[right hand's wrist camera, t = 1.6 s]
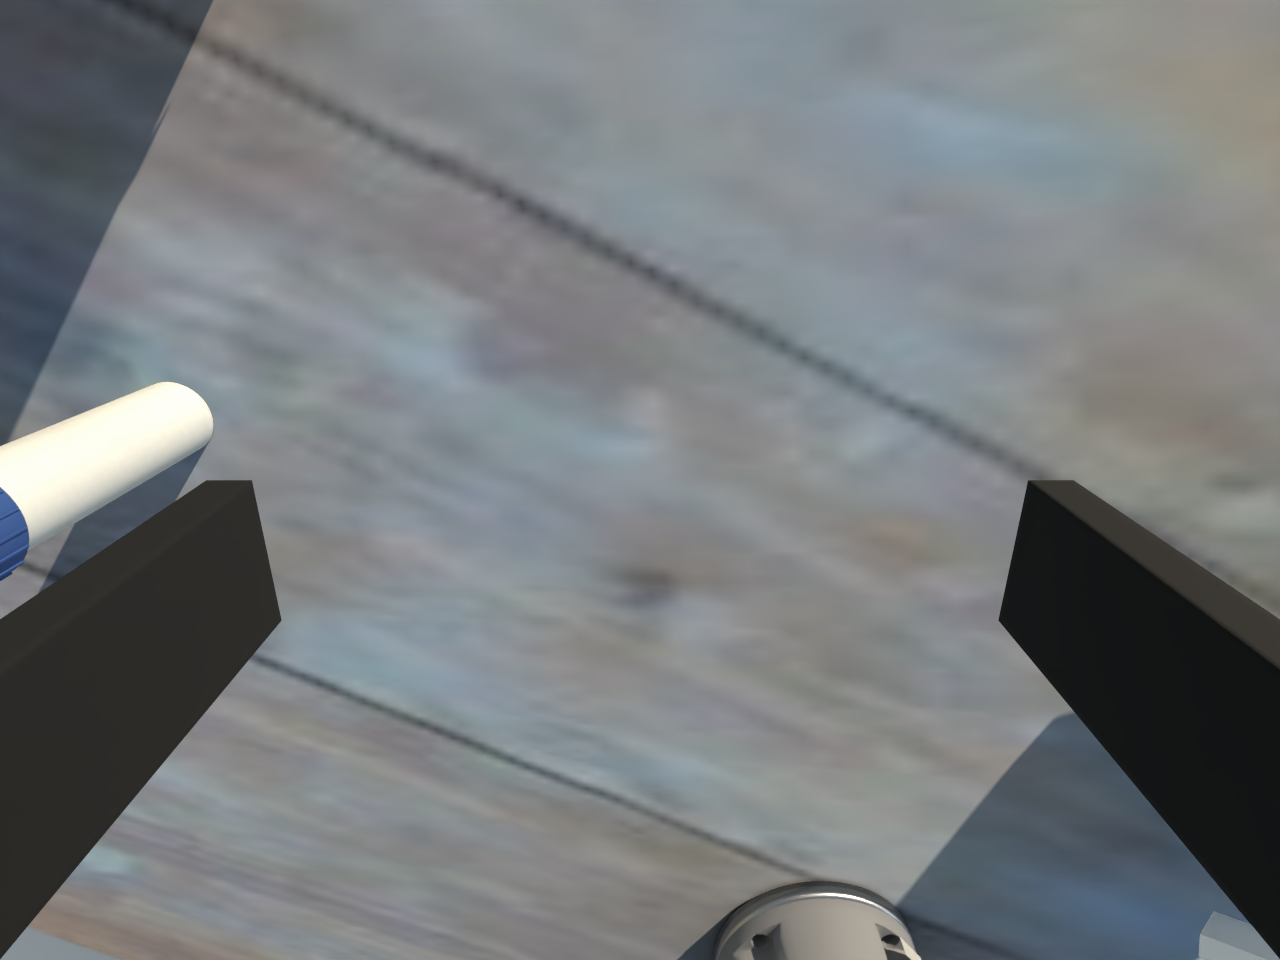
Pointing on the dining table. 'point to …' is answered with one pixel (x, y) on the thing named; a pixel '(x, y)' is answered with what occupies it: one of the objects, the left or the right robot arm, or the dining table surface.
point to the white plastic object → (1232, 940)
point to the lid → (11, 535)
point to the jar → (101, 455)
